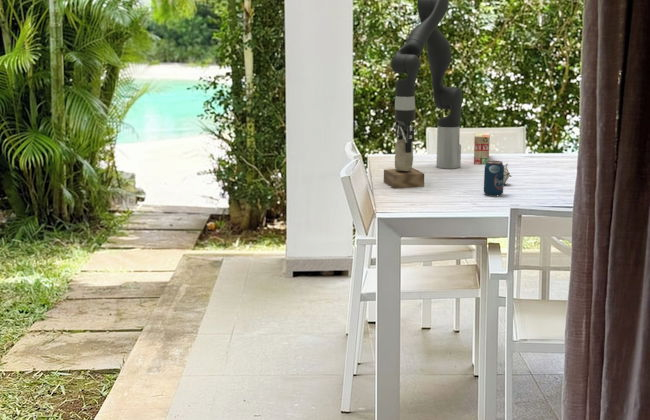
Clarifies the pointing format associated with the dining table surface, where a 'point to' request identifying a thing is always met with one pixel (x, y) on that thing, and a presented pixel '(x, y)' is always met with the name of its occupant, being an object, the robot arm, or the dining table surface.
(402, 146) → the carving
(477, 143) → the cardboard product box
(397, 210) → the dining table surface
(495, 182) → the soda can
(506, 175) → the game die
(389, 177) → the walnut block
